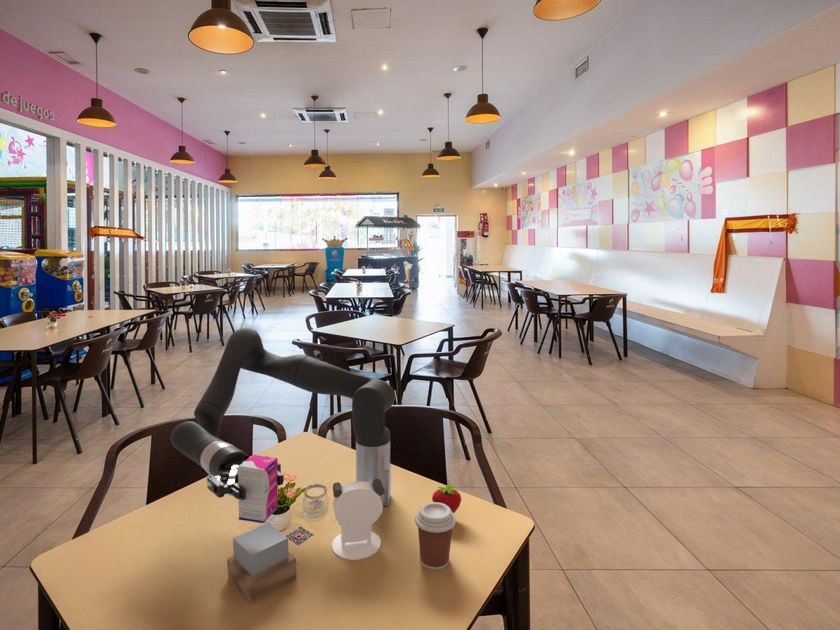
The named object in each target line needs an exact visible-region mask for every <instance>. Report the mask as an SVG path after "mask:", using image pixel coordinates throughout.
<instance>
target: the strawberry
mask: <svg viewBox="0 0 840 630" xmlns="http://www.w3.org/2000/svg"><path fill="white" fill-rule="evenodd" d="M447 483H448V484H446V486H445V487H443V486H438V487H437V489H436V491H434V492H433V493H432V496H431V497H432V498H431V500H432V502H438V503H443V504H445V505H447V506H448V507H450V509H451V512H453V513H454V514H455V513H456V511H457V510H458V509H459V508H460V505H461V502H462V496H461V493H460V492H459V490H457V489H455V487H454V486H450V483H449V481H447Z"/></svg>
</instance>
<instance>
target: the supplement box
mask: <svg viewBox="0 0 840 630" xmlns="http://www.w3.org/2000/svg"><path fill="white" fill-rule="evenodd" d="M266 456H267V455H266ZM266 456H265V455H259V454H252V455H251V456H250V457H249V459H247V460H246V461H245V462H243V463H242V464H241V465H239V466H238V484H239V485H240V486H242V487H243V488H244V489H245V490H246V499H245V500H240V499H238V520H240V521H246V522H251V523H258V524H266V521H267V520H268V519H269V518H270V517H271V516H272V515H273V514H274V513H275V512H276V511H277V510H278V509H279V508H278V502H279V501H278V498H279V497H278V487H279V485H278V462H279V460H278V458H277V457H272V456H268V457H266Z"/></svg>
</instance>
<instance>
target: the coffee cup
mask: <svg viewBox="0 0 840 630" xmlns="http://www.w3.org/2000/svg"><path fill="white" fill-rule="evenodd" d="M414 523H415V526H417V532H418V542H419V543H418V544H419V545H418V547H419V561H420V563H421V565H422V566H423V567H424V568H426V569H428V570H430V571H431V570H432V571H437V570H438V571H439V570H442V569H445V568H447V566H448V565H449V562H450V551H451V544H452V543H451V542H452V534H453V533H452V532H453V528H454V527H456V523H457V517H456V515H455V513H453V512H451V509H450V507H448V506H447V505H445V504H443V503H438V502H433V501H432V502H428V503H425V504H423V505H422V506H421V507H420V509H419V510H418V511H417V512H416V513H415V516H414Z"/></svg>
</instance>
